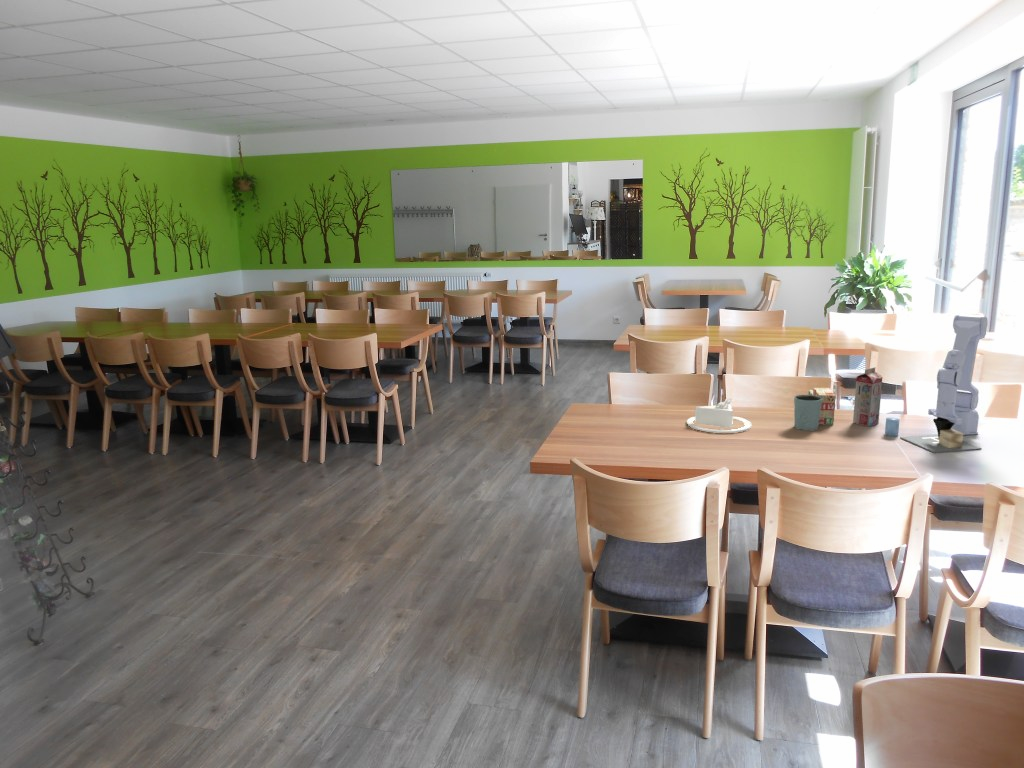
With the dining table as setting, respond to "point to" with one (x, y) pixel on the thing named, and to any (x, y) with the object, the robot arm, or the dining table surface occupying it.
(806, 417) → the teal cup
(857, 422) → the juice carton
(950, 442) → the maple block
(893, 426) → the blue capsule
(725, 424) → the dish
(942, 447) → the letter board
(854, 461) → the dining table surface
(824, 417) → the stack of blocks
